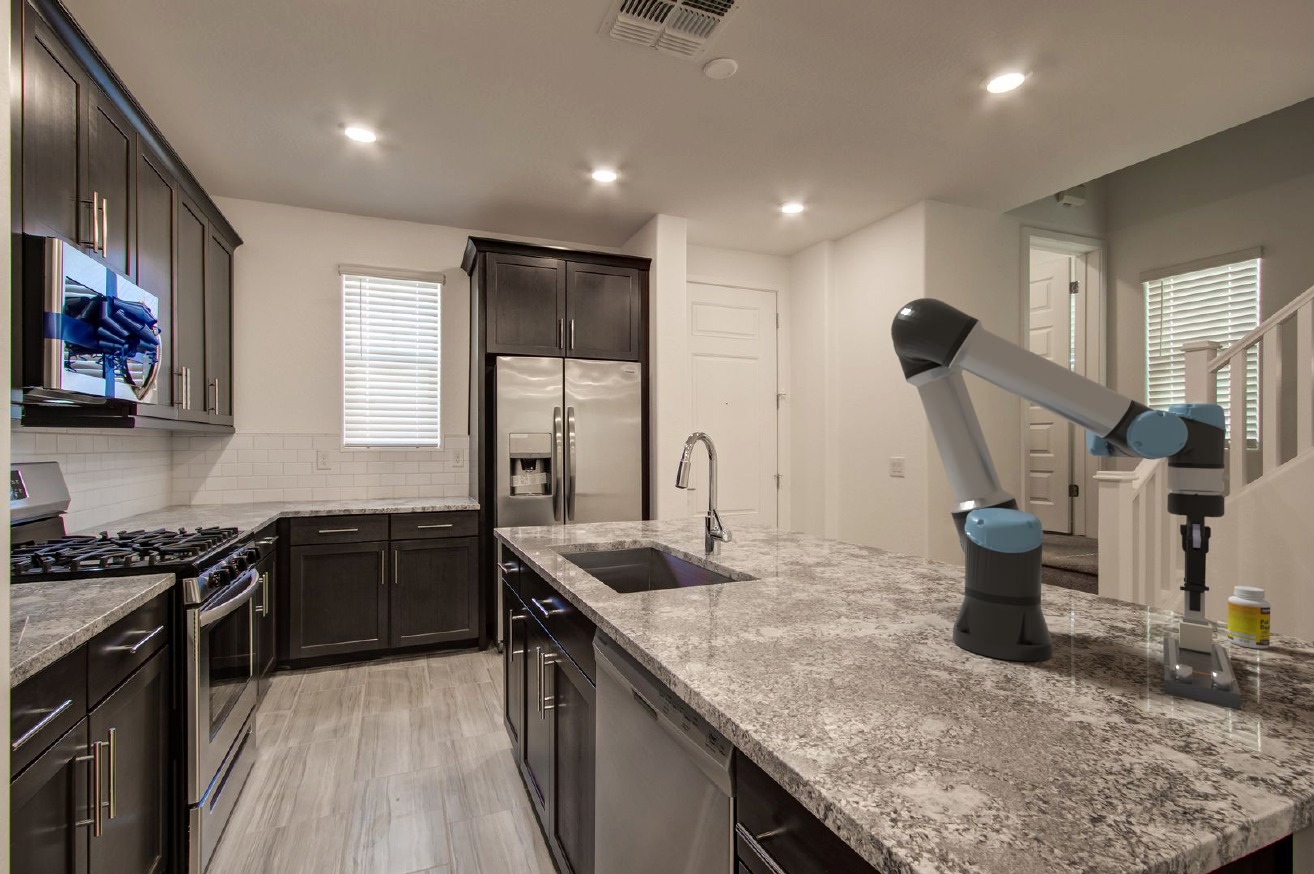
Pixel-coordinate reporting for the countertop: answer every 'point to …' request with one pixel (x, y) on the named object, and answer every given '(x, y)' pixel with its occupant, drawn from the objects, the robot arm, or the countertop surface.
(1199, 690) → the console
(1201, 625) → the fader tab
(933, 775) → the countertop surface
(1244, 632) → the supplement bottle
